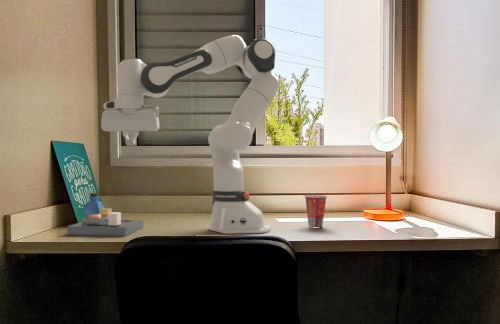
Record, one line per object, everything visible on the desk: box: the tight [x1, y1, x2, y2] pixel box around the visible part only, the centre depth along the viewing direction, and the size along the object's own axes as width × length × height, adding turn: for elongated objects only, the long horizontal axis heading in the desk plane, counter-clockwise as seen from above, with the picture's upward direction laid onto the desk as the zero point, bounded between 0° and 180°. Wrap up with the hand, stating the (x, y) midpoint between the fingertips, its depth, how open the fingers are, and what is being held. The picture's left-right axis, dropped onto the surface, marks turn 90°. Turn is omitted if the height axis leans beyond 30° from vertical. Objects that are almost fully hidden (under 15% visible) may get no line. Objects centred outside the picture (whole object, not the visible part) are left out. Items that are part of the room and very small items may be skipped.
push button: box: [89, 214, 101, 219], centre depth 129 cm, size 4×4×2 cm
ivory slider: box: [108, 211, 122, 226], centre depth 125 cm, size 3×3×4 cm
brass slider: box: [100, 207, 113, 216], centre depth 135 cm, size 3×3×4 cm
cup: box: [301, 194, 328, 228], centre depth 140 cm, size 9×8×12 cm
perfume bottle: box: [82, 192, 106, 218], centre depth 146 cm, size 6×6×12 cm
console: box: [67, 216, 144, 237], centre depth 130 cm, size 20×16×5 cm
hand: (130, 144), depth 130 cm, fingers closed
